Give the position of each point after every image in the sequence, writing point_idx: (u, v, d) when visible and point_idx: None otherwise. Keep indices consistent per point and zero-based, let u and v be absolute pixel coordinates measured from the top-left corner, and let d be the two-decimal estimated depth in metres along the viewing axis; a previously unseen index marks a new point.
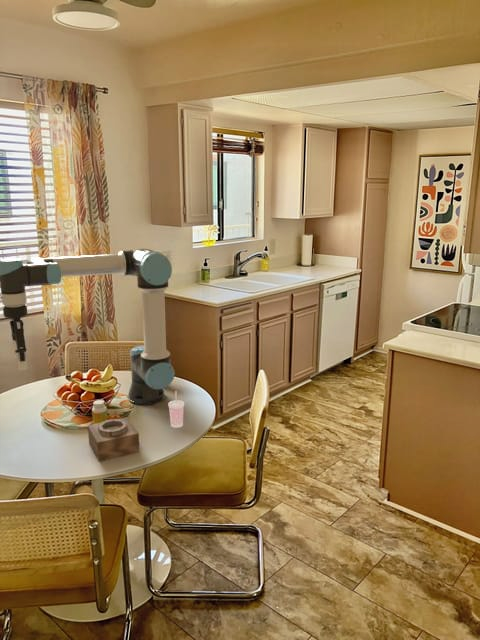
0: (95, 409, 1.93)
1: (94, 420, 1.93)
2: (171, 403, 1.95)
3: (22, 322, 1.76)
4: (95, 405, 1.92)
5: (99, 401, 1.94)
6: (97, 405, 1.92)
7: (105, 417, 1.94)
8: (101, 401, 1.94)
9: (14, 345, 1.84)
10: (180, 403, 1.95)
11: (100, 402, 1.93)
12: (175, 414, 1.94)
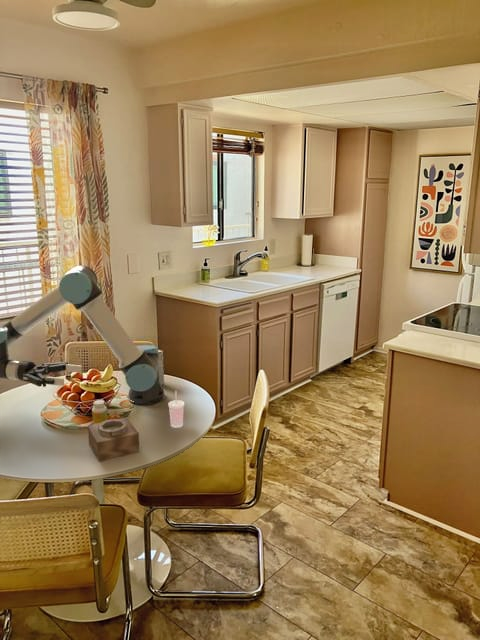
0: (95, 409, 1.93)
1: (94, 420, 1.93)
2: (171, 403, 1.95)
3: (33, 369, 1.94)
4: (95, 405, 1.92)
5: (99, 401, 1.94)
6: (97, 405, 1.92)
7: (105, 417, 1.94)
8: (101, 401, 1.94)
9: (69, 370, 2.00)
10: (180, 403, 1.95)
11: (100, 402, 1.93)
12: (175, 414, 1.94)
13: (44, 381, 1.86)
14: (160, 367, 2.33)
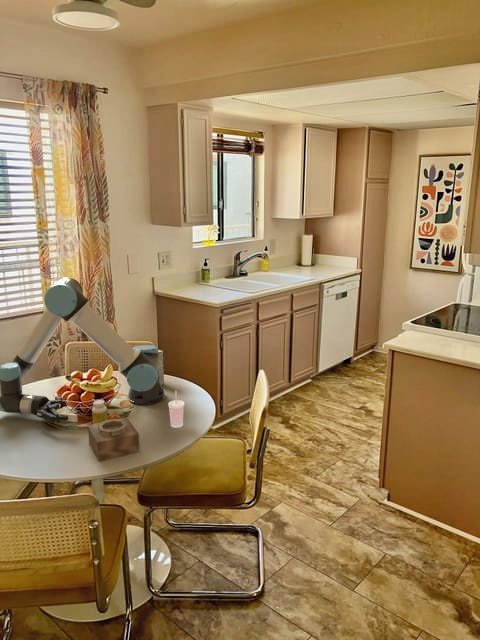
0: (95, 409, 1.93)
1: (94, 420, 1.93)
2: (171, 403, 1.95)
3: (46, 404, 1.96)
4: (95, 405, 1.92)
5: (99, 401, 1.94)
6: (97, 405, 1.92)
7: (105, 417, 1.94)
8: (101, 401, 1.94)
9: None
10: (180, 403, 1.95)
11: (100, 402, 1.93)
12: (175, 414, 1.94)
13: (58, 417, 1.89)
14: (160, 367, 2.33)
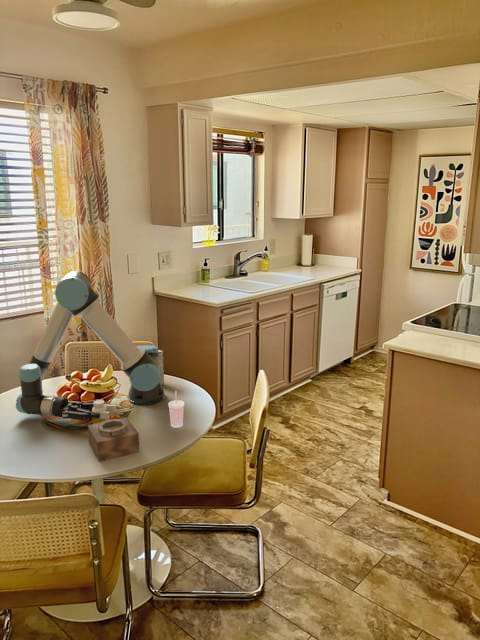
0: (95, 409, 1.93)
1: (94, 420, 1.93)
2: (171, 403, 1.95)
3: (68, 405, 1.95)
4: (95, 405, 1.92)
5: (99, 401, 1.94)
6: (97, 405, 1.92)
7: None
8: (101, 401, 1.94)
9: None
10: (180, 403, 1.95)
11: (100, 402, 1.93)
12: (175, 414, 1.94)
13: (90, 415, 1.91)
14: (160, 367, 2.33)
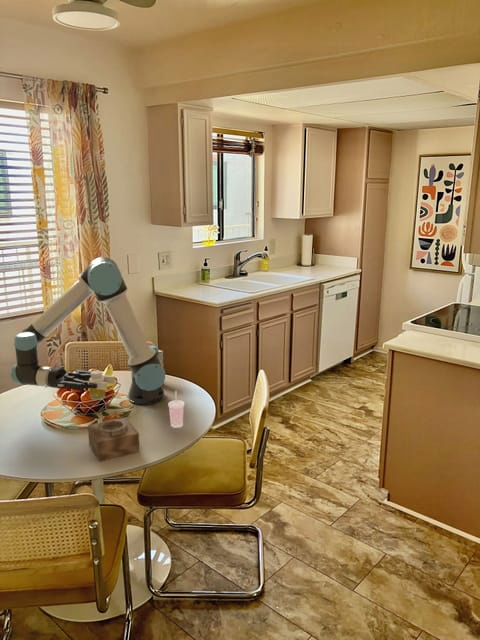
0: (92, 379, 1.84)
1: (91, 391, 1.85)
2: (171, 403, 1.95)
3: (64, 376, 1.86)
4: (92, 375, 1.84)
5: (96, 371, 1.86)
6: (94, 375, 1.83)
7: None
8: (99, 371, 1.86)
9: None
10: (180, 403, 1.95)
11: (98, 372, 1.85)
12: (175, 414, 1.94)
13: (87, 385, 1.82)
14: None
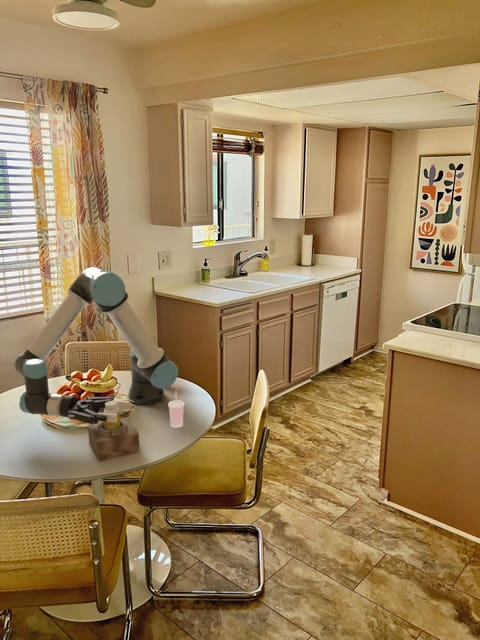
0: (107, 411, 1.75)
1: (106, 423, 1.76)
2: (171, 403, 1.95)
3: (77, 405, 1.77)
4: (107, 407, 1.75)
5: (111, 402, 1.77)
6: (109, 407, 1.74)
7: (118, 420, 1.77)
8: (113, 402, 1.77)
9: None
10: (180, 403, 1.95)
11: (113, 403, 1.76)
12: (175, 414, 1.94)
13: (96, 418, 1.71)
14: None
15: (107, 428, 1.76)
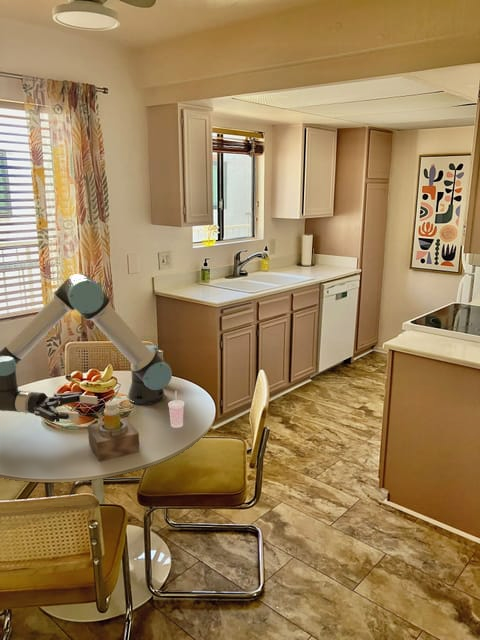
0: (107, 411, 1.75)
1: (106, 423, 1.76)
2: (171, 403, 1.95)
3: (44, 401, 1.79)
4: (107, 407, 1.75)
5: (111, 402, 1.77)
6: (109, 407, 1.74)
7: (118, 420, 1.77)
8: (114, 402, 1.77)
9: (83, 402, 1.86)
10: (180, 403, 1.95)
11: (113, 403, 1.76)
12: (175, 414, 1.94)
13: (57, 416, 1.71)
14: None
15: (107, 428, 1.76)
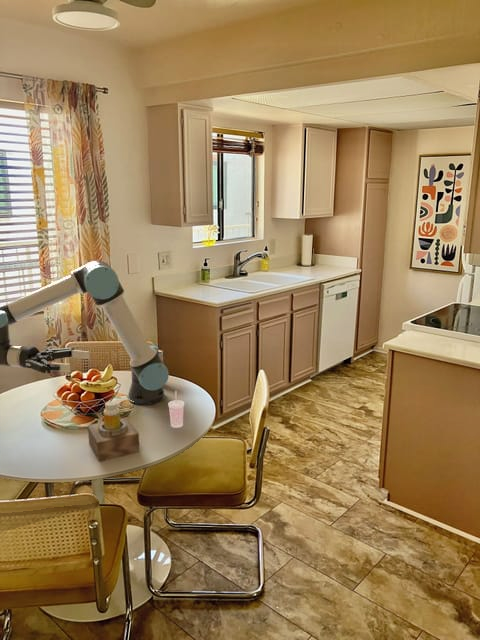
0: (107, 411, 1.75)
1: (106, 423, 1.76)
2: (171, 403, 1.95)
3: (36, 355, 1.78)
4: (107, 407, 1.75)
5: (111, 402, 1.77)
6: (109, 407, 1.74)
7: (118, 420, 1.77)
8: (114, 402, 1.77)
9: (76, 357, 1.85)
10: (180, 403, 1.95)
11: (113, 403, 1.76)
12: (175, 414, 1.94)
13: (49, 367, 1.71)
14: None
15: (107, 428, 1.76)
